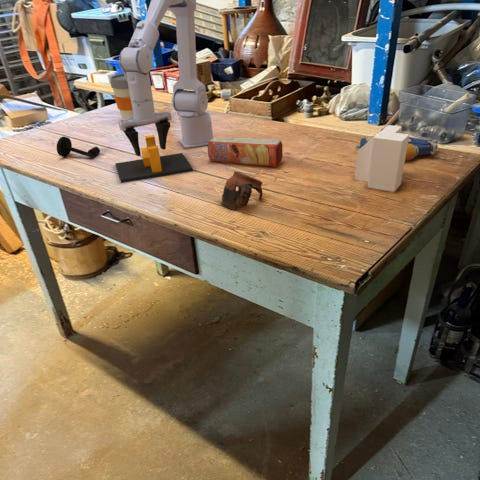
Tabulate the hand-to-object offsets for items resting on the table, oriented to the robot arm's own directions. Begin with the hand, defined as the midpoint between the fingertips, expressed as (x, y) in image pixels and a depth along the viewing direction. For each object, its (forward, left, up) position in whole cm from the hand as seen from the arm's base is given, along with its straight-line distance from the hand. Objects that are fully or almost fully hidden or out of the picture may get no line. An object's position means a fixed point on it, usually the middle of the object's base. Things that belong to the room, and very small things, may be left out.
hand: (150, 151), depth 132 cm
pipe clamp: (0, 0, -4) cm, 4 cm away
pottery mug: (-16, +34, -5) cm, 37 cm away
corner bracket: (-52, +35, -5) cm, 63 cm away
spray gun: (-66, +20, -5) cm, 69 cm away
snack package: (-25, +7, -5) cm, 27 cm away
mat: (0, 0, -5) cm, 5 cm away
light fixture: (+18, -22, -5) cm, 29 cm away
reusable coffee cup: (-2, -52, -5) cm, 53 cm away
